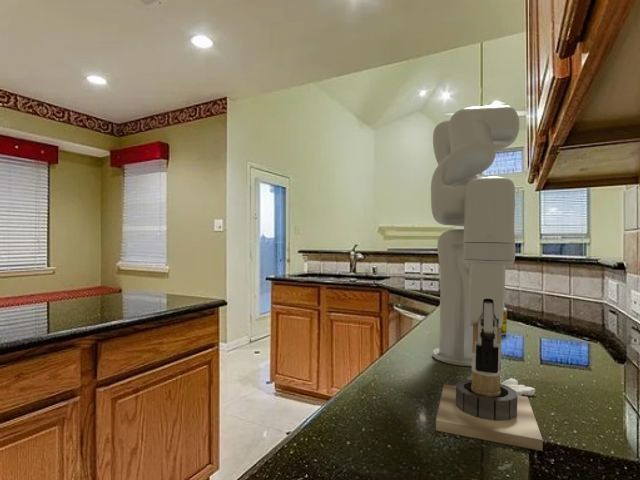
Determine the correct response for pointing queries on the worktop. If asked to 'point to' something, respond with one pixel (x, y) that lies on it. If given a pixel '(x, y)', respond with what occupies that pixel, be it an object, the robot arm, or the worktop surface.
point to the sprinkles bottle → (485, 381)
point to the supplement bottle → (504, 322)
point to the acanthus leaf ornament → (518, 387)
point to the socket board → (488, 416)
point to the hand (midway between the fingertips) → (486, 365)
